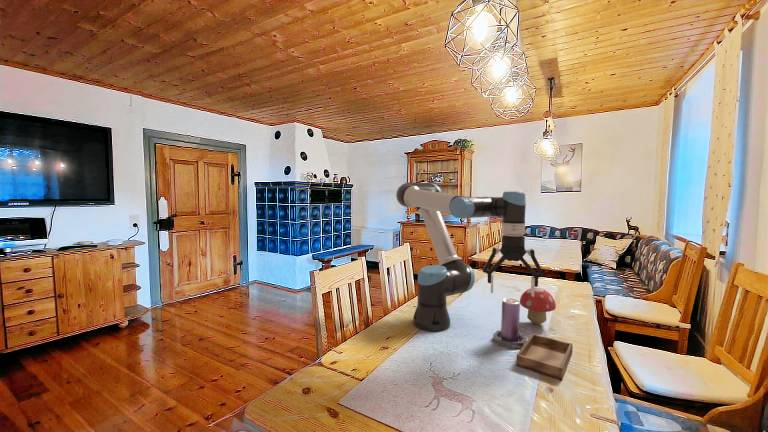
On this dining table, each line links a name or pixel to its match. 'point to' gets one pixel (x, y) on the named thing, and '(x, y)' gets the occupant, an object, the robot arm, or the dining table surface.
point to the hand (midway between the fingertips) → (511, 293)
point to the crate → (545, 356)
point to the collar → (507, 343)
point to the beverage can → (510, 320)
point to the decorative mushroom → (537, 304)
